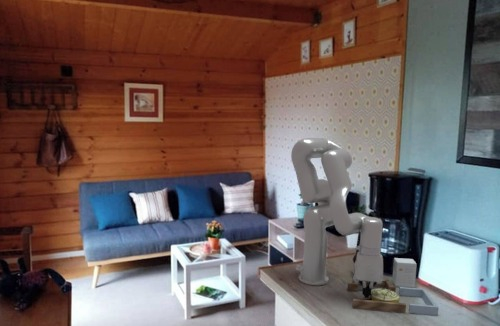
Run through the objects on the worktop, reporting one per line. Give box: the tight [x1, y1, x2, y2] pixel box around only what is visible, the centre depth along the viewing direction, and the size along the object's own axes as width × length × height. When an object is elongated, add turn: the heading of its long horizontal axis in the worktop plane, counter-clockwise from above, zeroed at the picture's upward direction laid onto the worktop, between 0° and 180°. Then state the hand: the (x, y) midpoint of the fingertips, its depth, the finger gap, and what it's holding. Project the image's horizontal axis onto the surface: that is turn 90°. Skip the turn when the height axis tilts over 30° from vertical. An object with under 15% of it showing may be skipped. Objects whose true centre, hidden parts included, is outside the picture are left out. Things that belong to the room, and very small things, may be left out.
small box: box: [391, 257, 418, 288], centre depth 173 cm, size 8×6×10 cm
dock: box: [398, 286, 439, 316], centre depth 155 cm, size 10×16×3 cm, turn 174°
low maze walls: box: [346, 279, 407, 314], centre depth 160 cm, size 18×22×3 cm
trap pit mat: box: [358, 285, 386, 292], centre depth 167 cm, size 12×5×1 cm, turn 84°
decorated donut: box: [369, 289, 400, 303], centre depth 157 cm, size 10×11×4 cm
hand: (366, 296), depth 157 cm, fingers closed
